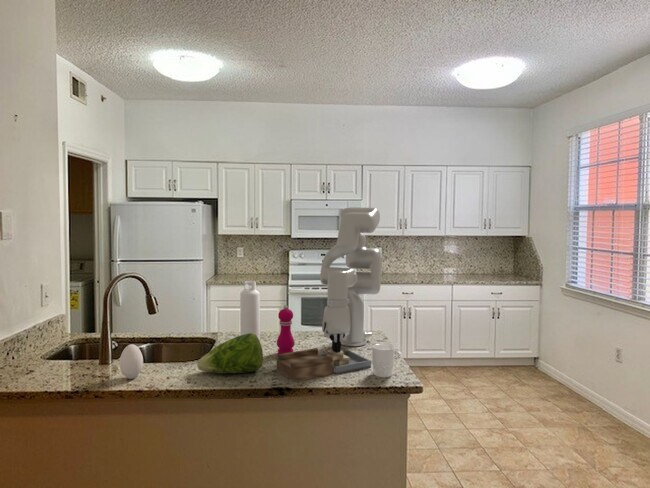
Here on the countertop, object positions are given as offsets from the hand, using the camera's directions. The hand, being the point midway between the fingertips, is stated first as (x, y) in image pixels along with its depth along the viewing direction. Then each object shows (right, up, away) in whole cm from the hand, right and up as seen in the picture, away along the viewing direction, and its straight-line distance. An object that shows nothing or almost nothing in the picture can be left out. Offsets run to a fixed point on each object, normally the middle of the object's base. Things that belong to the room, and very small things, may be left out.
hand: (336, 351), depth 170 cm
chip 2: (+2, -2, +2) cm, 3 cm away
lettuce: (-38, -6, -8) cm, 39 cm away
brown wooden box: (-12, -6, -6) cm, 14 cm away
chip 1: (0, 0, 0) cm, 1 cm away
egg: (-71, -6, -15) cm, 72 cm away
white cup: (+16, -6, -8) cm, 19 cm away
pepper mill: (-20, -5, +14) cm, 25 cm away
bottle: (-36, -4, +23) cm, 43 cm away
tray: (+2, -5, +2) cm, 6 cm away
